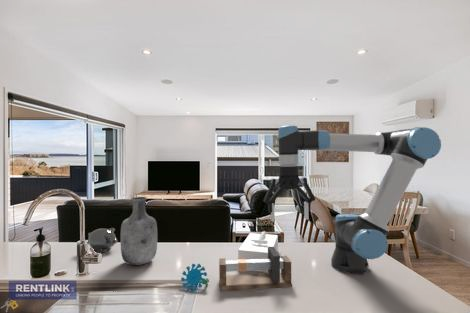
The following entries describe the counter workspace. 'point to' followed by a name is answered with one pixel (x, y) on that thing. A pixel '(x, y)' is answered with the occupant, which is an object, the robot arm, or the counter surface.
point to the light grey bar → (251, 264)
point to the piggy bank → (102, 239)
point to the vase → (138, 235)
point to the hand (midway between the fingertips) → (289, 219)
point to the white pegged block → (257, 247)
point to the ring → (274, 264)
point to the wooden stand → (253, 278)
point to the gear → (194, 277)
